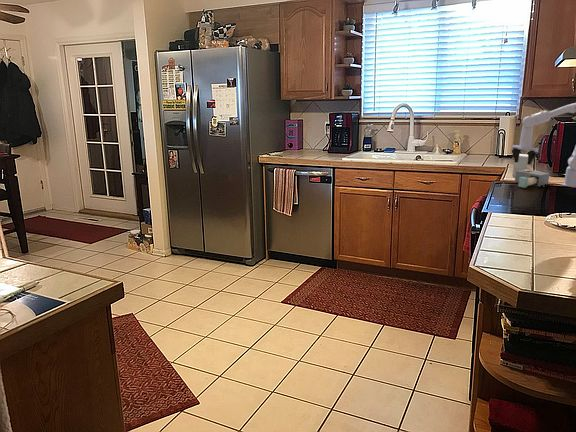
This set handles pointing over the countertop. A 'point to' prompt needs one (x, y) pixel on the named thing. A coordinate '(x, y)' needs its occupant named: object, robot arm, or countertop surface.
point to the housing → (541, 176)
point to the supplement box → (521, 163)
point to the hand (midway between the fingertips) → (522, 163)
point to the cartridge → (527, 181)
